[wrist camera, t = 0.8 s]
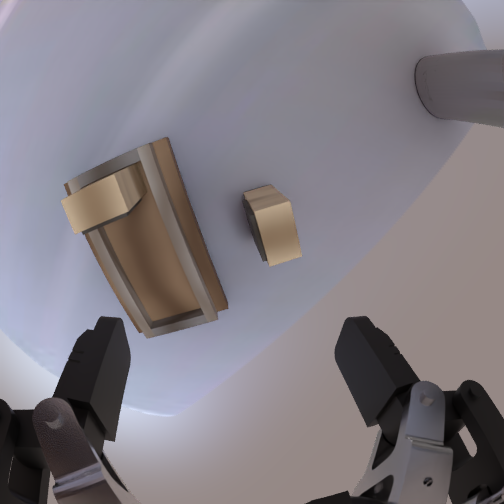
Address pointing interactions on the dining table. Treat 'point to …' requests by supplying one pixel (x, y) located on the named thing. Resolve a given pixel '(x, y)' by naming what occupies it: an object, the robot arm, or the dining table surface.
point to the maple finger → (272, 225)
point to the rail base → (147, 239)
